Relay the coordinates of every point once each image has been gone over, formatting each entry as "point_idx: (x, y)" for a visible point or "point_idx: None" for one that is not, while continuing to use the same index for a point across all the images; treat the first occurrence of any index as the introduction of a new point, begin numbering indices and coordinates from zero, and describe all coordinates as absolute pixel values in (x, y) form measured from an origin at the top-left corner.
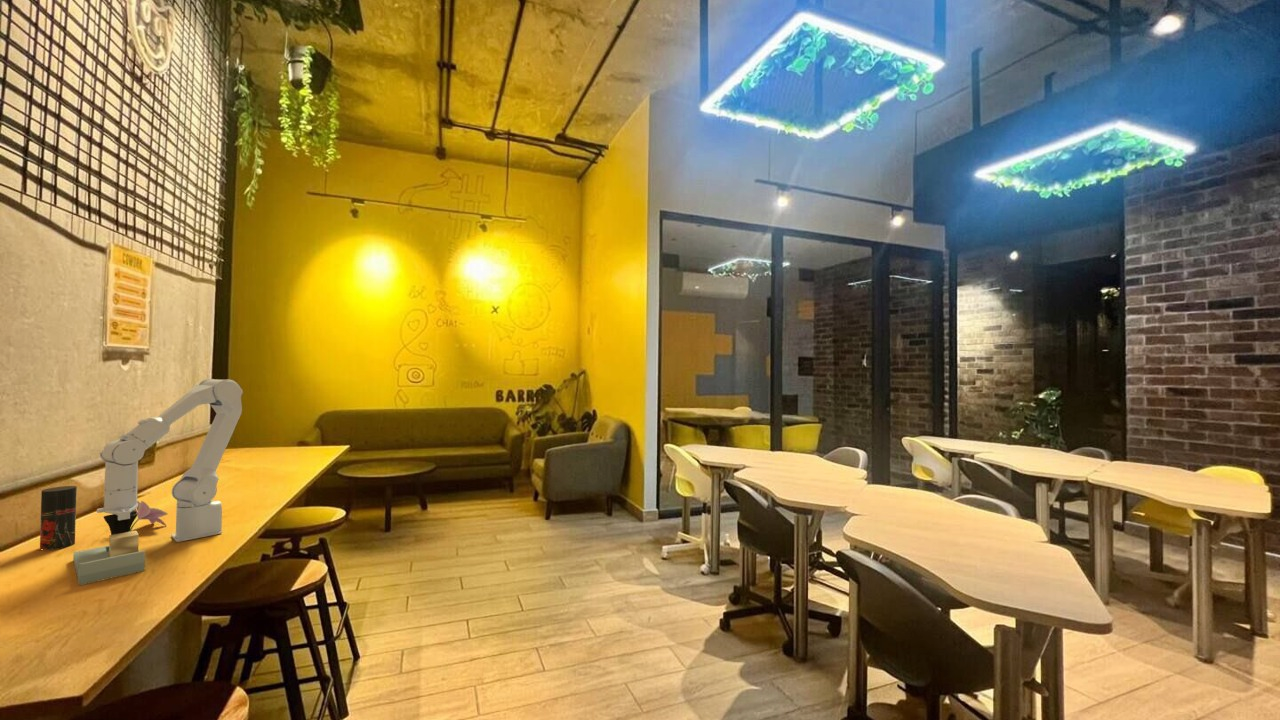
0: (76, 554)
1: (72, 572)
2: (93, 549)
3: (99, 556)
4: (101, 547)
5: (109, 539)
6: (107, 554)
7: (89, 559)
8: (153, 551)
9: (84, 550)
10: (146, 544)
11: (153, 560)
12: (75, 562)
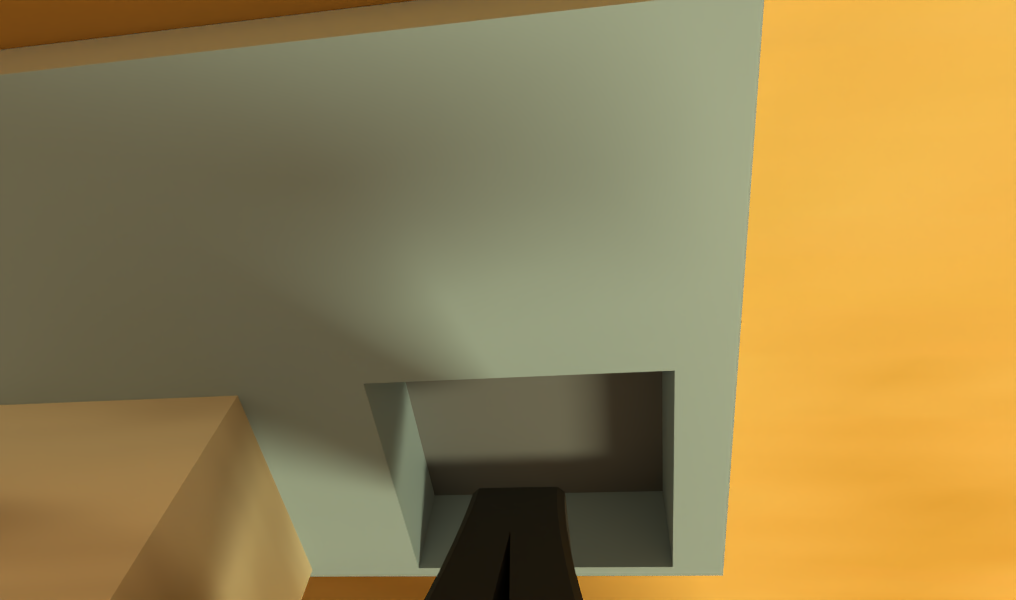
0: (530, 46)
1: (35, 5)
2: (671, 254)
3: (172, 316)
4: (708, 335)
5: (105, 588)
6: (218, 383)
7: (62, 224)
8: None
9: (729, 146)
10: (782, 572)
11: None
12: (153, 48)
